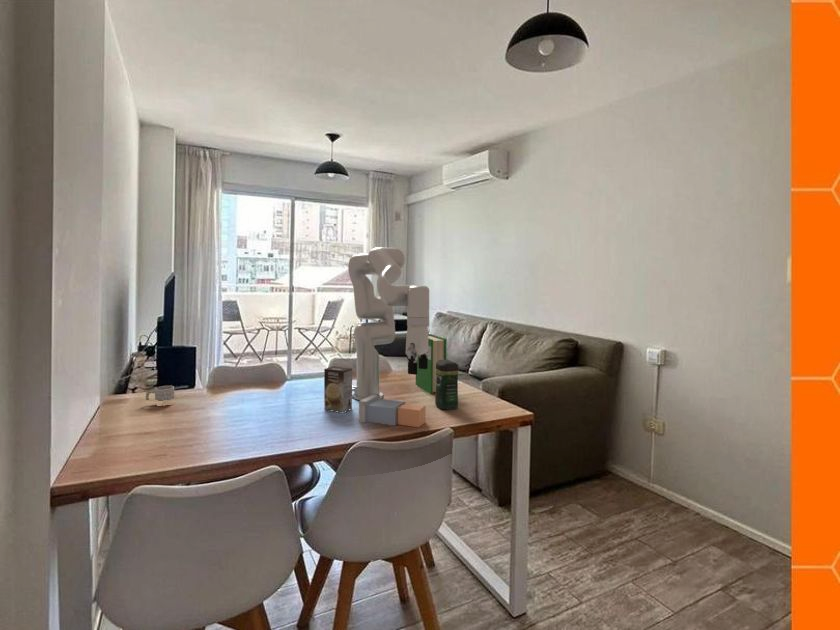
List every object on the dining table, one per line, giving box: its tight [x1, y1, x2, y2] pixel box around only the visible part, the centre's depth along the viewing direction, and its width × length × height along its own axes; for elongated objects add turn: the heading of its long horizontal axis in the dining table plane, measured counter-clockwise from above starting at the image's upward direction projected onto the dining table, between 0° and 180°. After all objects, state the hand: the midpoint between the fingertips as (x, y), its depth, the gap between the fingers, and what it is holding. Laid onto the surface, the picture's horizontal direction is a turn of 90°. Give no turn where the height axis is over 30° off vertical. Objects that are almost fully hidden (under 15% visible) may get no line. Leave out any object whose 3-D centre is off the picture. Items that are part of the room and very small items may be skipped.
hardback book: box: [415, 333, 448, 395], centre depth 206 cm, size 18×7×24 cm, turn 22°
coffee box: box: [323, 365, 353, 413], centre depth 174 cm, size 9×6×16 cm
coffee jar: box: [434, 359, 460, 411], centre depth 179 cm, size 10×8×19 cm
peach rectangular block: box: [397, 403, 426, 428], centre depth 159 cm, size 8×6×6 cm
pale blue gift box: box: [358, 394, 406, 427], centre depth 163 cm, size 14×11×7 cm
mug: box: [145, 385, 175, 401], centre depth 179 cm, size 10×7×7 cm, turn 108°
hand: (417, 371), depth 157 cm, fingers open, 9 cm apart
